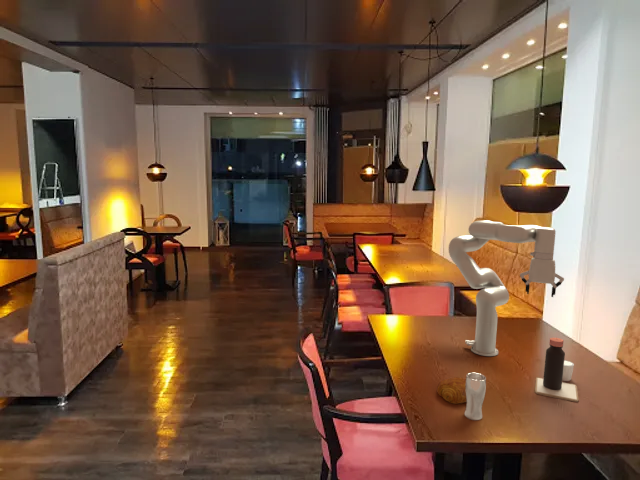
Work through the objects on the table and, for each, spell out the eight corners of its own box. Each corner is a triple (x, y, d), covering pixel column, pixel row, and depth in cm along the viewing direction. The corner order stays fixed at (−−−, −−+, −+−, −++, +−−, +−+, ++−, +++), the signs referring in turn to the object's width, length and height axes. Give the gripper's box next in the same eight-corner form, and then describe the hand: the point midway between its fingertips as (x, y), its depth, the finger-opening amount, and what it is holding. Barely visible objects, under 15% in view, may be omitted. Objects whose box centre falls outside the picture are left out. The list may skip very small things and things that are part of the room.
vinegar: (549, 391, 188) (554, 343, 185) (539, 383, 194) (543, 337, 191) (565, 390, 189) (570, 342, 186) (554, 382, 195) (558, 336, 192)
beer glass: (460, 411, 172) (462, 372, 170) (478, 410, 173) (481, 372, 170) (467, 421, 165) (470, 380, 163) (486, 420, 166) (490, 380, 164)
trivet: (534, 393, 187) (535, 391, 187) (535, 378, 200) (536, 376, 200) (578, 402, 180) (578, 400, 180) (576, 386, 194) (576, 384, 194)
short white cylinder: (571, 376, 204) (572, 360, 203) (573, 382, 197) (575, 366, 196) (553, 373, 206) (555, 358, 205) (555, 380, 200) (557, 364, 198)
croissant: (483, 404, 182) (487, 384, 182) (456, 408, 174) (460, 388, 173) (454, 388, 195) (458, 369, 194) (428, 392, 186) (431, 372, 185)
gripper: (521, 255, 202) (517, 294, 205) (566, 259, 195) (562, 299, 197) (522, 252, 209) (518, 290, 211) (565, 256, 201) (562, 295, 204)
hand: (539, 294), depth 204 cm, fingers open, 9 cm apart
